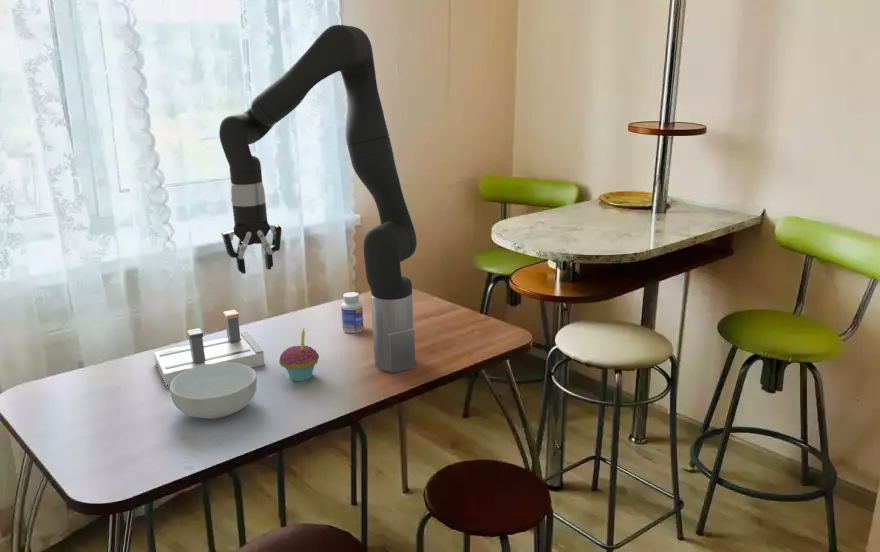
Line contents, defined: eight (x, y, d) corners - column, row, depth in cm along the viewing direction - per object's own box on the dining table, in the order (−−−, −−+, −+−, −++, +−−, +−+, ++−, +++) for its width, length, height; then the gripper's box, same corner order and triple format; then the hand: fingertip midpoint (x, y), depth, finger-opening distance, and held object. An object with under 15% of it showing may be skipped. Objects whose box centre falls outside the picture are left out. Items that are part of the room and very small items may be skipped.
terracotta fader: (241, 340, 177) (238, 313, 175) (229, 342, 176) (226, 315, 174) (238, 335, 180) (235, 309, 178) (226, 338, 178) (223, 311, 176)
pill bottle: (360, 334, 188) (357, 298, 185) (339, 333, 189) (337, 297, 186) (366, 326, 193) (364, 291, 190) (346, 325, 194) (344, 290, 191)
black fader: (206, 361, 166) (202, 332, 164) (193, 364, 164) (189, 335, 162) (203, 356, 169) (199, 328, 166) (190, 358, 167) (186, 330, 165)
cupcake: (327, 372, 166) (323, 322, 163) (305, 388, 159) (301, 336, 155) (295, 366, 170) (291, 317, 166) (273, 381, 162) (268, 330, 159)
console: (264, 364, 171) (263, 350, 170) (166, 386, 161) (163, 372, 160) (248, 344, 183) (247, 331, 182) (155, 363, 173) (153, 350, 172)
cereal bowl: (213, 439, 139) (208, 405, 137) (156, 418, 148) (151, 386, 146) (276, 402, 153) (273, 371, 151) (221, 385, 161) (217, 355, 159)
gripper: (221, 208, 165) (229, 280, 170) (283, 200, 171) (290, 269, 176) (213, 202, 171) (222, 271, 176) (274, 195, 177) (280, 262, 182)
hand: (256, 270), depth 176 cm, fingers open, 5 cm apart
